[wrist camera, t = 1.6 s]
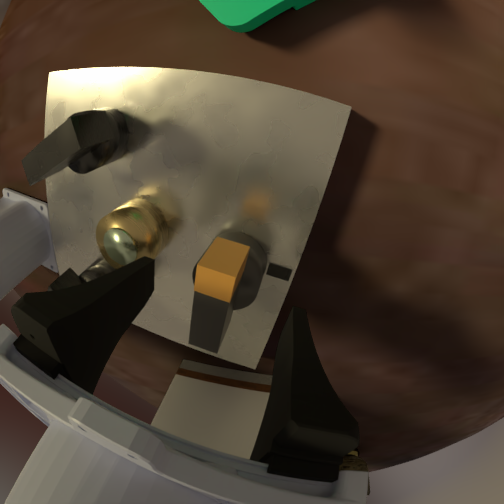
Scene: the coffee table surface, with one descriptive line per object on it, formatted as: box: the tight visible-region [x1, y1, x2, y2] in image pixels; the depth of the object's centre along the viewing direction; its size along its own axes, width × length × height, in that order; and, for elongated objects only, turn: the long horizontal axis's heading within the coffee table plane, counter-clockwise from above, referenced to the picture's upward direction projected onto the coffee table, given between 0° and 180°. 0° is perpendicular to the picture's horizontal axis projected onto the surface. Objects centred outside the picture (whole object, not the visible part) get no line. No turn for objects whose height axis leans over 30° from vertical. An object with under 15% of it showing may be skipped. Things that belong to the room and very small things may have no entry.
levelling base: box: [22, 67, 351, 369], centre depth 16 cm, size 20×20×7 cm
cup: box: [339, 448, 370, 495], centre depth 29 cm, size 8×7×8 cm
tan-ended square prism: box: [188, 232, 267, 354], centre depth 15 cm, size 5×4×5 cm
